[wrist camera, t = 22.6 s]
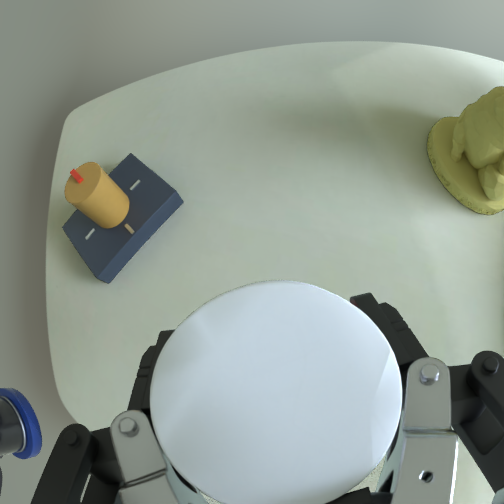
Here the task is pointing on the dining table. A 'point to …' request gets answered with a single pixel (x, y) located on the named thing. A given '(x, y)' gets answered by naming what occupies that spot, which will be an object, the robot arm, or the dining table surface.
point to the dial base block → (132, 227)
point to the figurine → (472, 153)
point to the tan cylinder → (96, 195)
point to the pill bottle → (276, 395)
